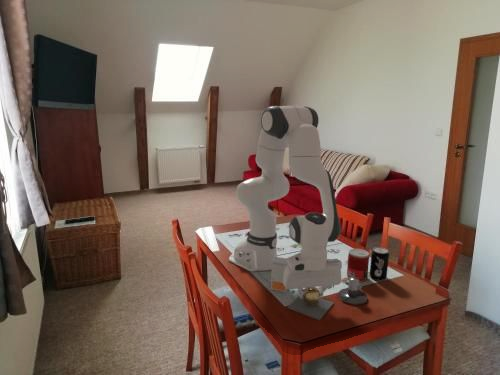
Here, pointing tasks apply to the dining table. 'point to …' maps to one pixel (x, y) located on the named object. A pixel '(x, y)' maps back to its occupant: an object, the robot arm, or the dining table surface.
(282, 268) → the skincare box
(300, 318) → the dining table surface
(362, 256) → the canned food
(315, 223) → the robot arm
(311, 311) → the mat
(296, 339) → the dining table surface
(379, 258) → the beverage can
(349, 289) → the silver metal stand
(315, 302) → the cap
